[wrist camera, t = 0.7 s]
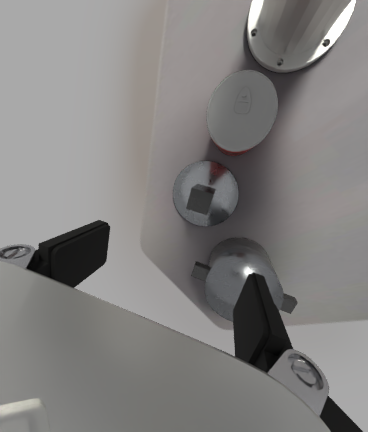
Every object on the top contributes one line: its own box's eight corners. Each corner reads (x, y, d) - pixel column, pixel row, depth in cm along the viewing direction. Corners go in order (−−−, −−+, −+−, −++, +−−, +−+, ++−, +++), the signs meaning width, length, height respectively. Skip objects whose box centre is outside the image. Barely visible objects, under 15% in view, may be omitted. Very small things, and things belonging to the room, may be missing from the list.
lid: (182, 153, 32) (171, 150, 26) (248, 171, 30) (254, 173, 24) (168, 213, 36) (155, 224, 30) (225, 232, 35) (225, 248, 28)
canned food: (259, 98, 27) (278, 57, 17) (260, 151, 29) (279, 144, 19) (210, 110, 29) (201, 81, 19) (215, 159, 31) (209, 156, 21)
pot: (207, 225, 35) (201, 245, 26) (294, 254, 32) (317, 285, 24) (192, 272, 39) (182, 301, 31) (268, 300, 36) (280, 341, 28)
